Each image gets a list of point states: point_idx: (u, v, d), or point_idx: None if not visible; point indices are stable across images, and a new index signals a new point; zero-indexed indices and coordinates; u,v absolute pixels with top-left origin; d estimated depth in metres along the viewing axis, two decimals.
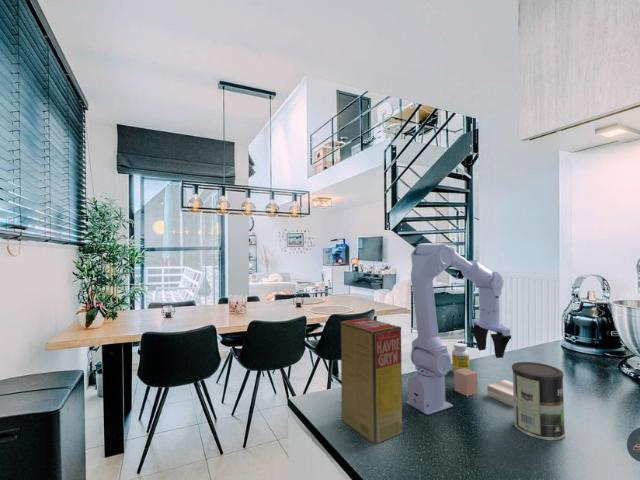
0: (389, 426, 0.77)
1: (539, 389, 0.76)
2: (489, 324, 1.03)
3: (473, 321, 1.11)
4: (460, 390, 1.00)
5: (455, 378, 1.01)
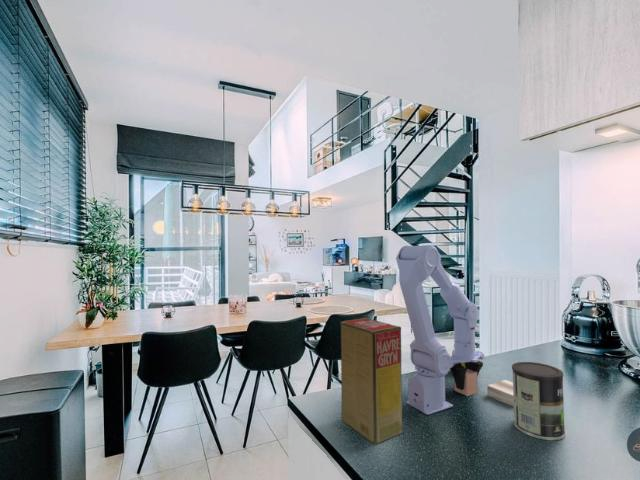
0: (389, 426, 0.77)
1: (539, 389, 0.76)
2: None
3: None
4: (460, 390, 1.00)
5: None
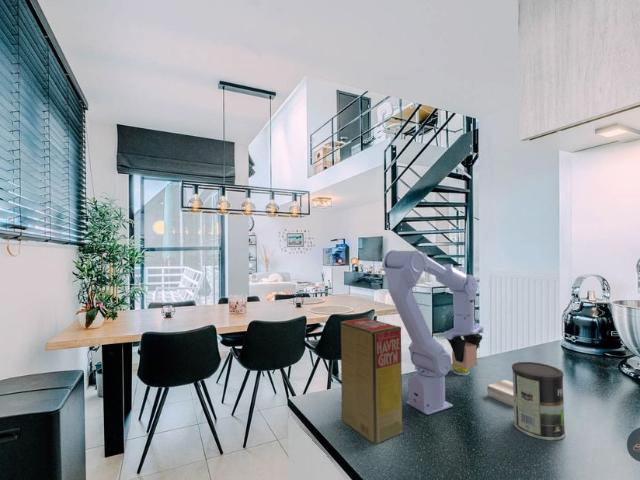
0: (389, 426, 0.77)
1: (539, 389, 0.76)
2: (454, 327, 1.02)
3: None
4: (459, 363, 1.00)
5: None
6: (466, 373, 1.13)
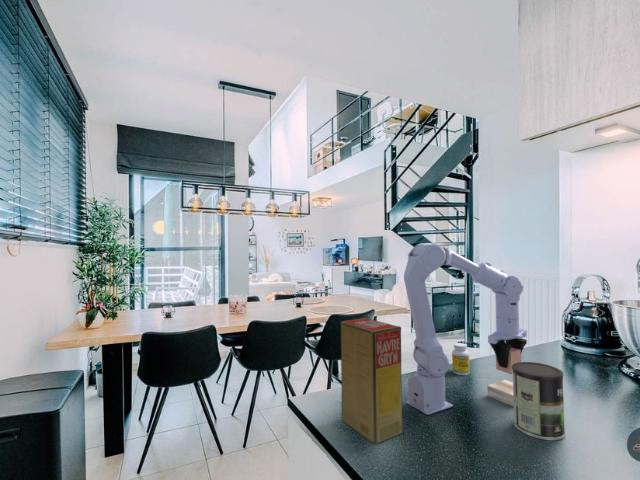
0: (389, 426, 0.77)
1: (539, 389, 0.76)
2: (496, 331, 0.97)
3: None
4: (503, 368, 0.95)
5: None
6: (466, 373, 1.13)
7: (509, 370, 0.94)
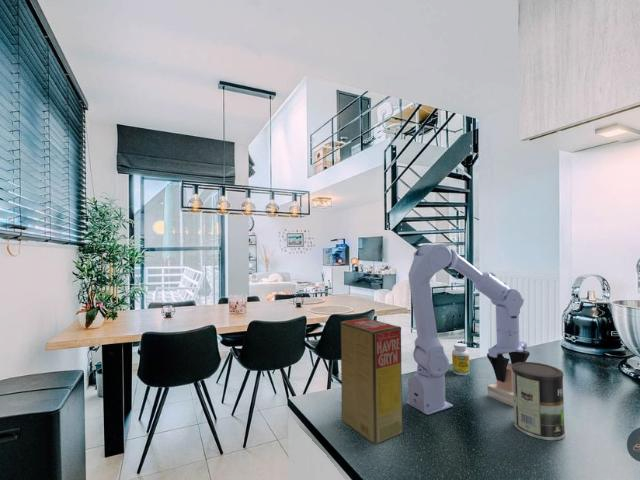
0: (389, 426, 0.77)
1: (539, 389, 0.76)
2: (497, 343, 0.97)
3: None
4: (503, 385, 0.95)
5: None
6: (466, 373, 1.13)
7: (510, 388, 0.94)
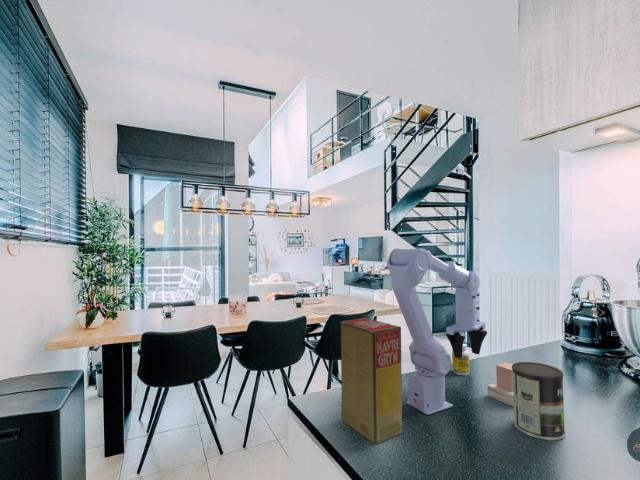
0: (389, 426, 0.77)
1: (539, 389, 0.76)
2: (456, 323, 1.03)
3: None
4: (503, 385, 0.95)
5: (497, 373, 0.97)
6: (466, 373, 1.13)
7: (510, 388, 0.94)
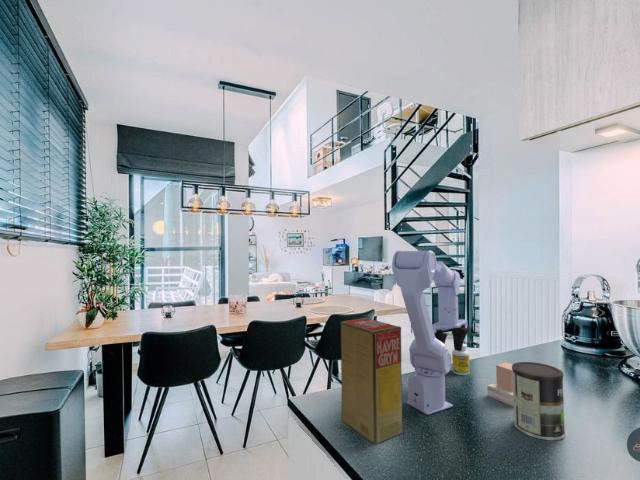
0: (389, 426, 0.77)
1: (539, 389, 0.76)
2: None
3: None
4: (503, 385, 0.95)
5: (497, 373, 0.97)
6: (466, 373, 1.13)
7: (510, 388, 0.94)
